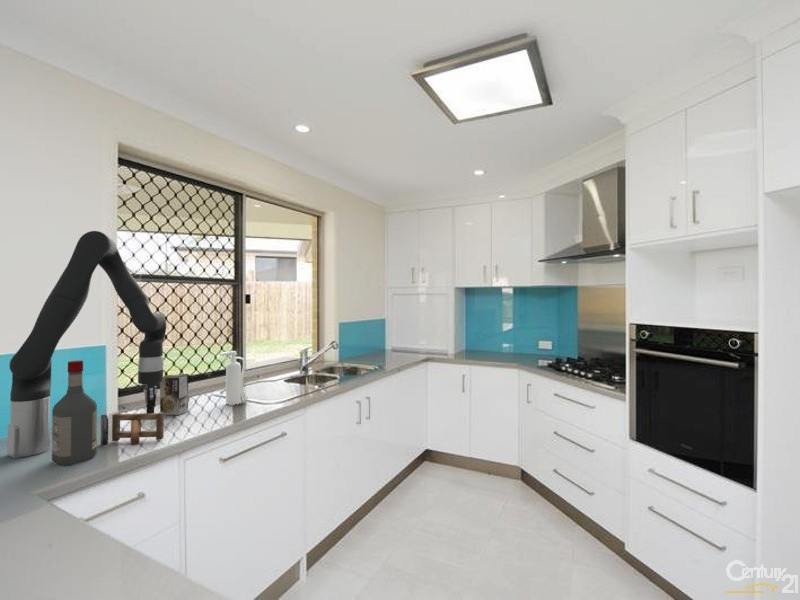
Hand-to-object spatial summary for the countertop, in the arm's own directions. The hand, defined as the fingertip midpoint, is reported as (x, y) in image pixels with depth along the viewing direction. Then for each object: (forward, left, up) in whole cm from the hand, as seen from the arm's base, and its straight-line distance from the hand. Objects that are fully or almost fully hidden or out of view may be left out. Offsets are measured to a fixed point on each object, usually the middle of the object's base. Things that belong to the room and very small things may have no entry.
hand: (150, 417), depth 136 cm
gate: (-4, 0, -7) cm, 8 cm away
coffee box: (+21, +24, -7) cm, 33 cm away
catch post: (-6, -2, -7) cm, 9 cm away
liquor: (-22, 0, -7) cm, 23 cm away
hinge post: (-11, +7, -7) cm, 15 cm away
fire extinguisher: (+45, +16, -7) cm, 49 cm away
